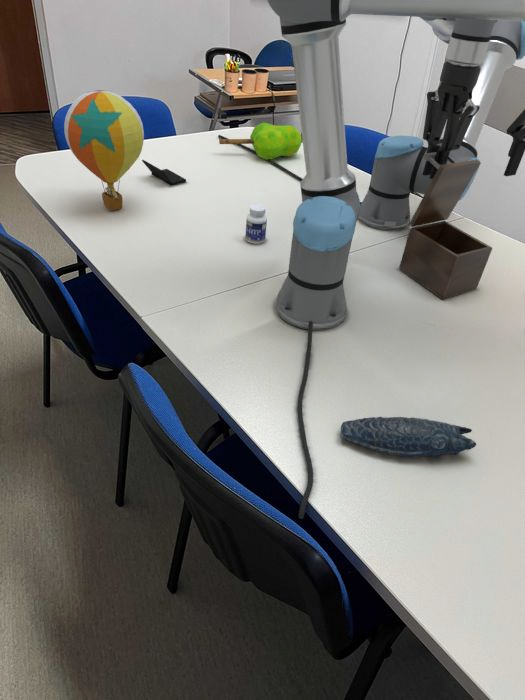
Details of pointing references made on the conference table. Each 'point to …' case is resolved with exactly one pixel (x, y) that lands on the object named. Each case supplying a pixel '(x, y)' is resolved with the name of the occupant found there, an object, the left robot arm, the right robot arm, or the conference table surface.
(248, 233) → the pill bottle
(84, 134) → the toy
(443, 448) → the fish model
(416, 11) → the left robot arm
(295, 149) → the decorative tree
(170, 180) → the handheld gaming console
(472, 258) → the chest
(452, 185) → the lid
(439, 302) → the conference table surface
